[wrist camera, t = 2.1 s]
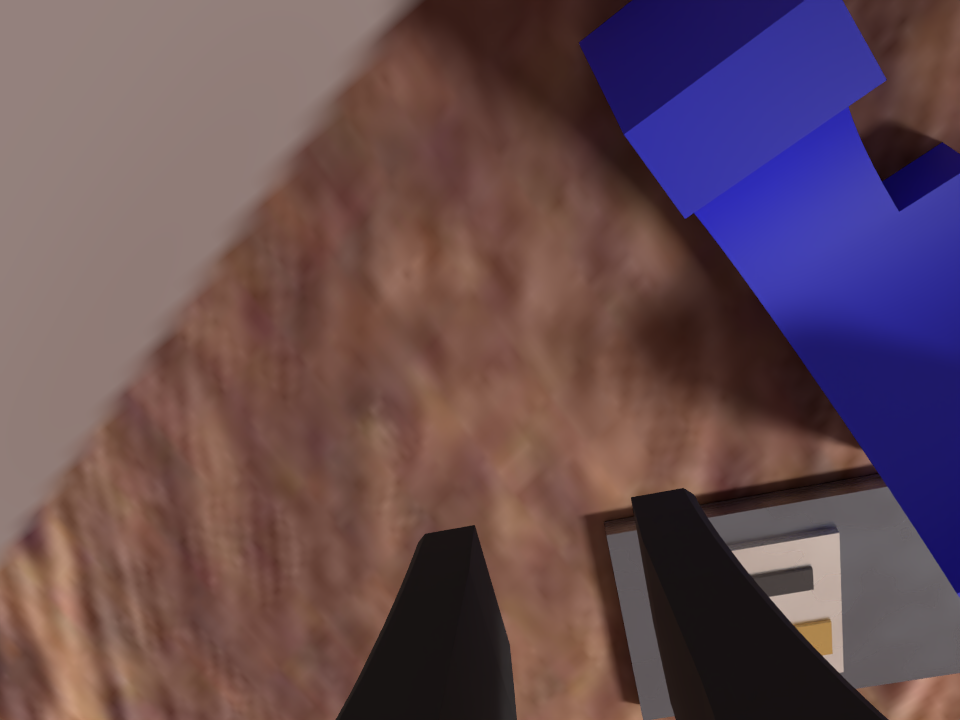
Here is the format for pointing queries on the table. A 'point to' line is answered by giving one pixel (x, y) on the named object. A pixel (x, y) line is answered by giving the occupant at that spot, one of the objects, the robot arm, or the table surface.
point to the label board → (817, 583)
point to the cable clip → (810, 216)
